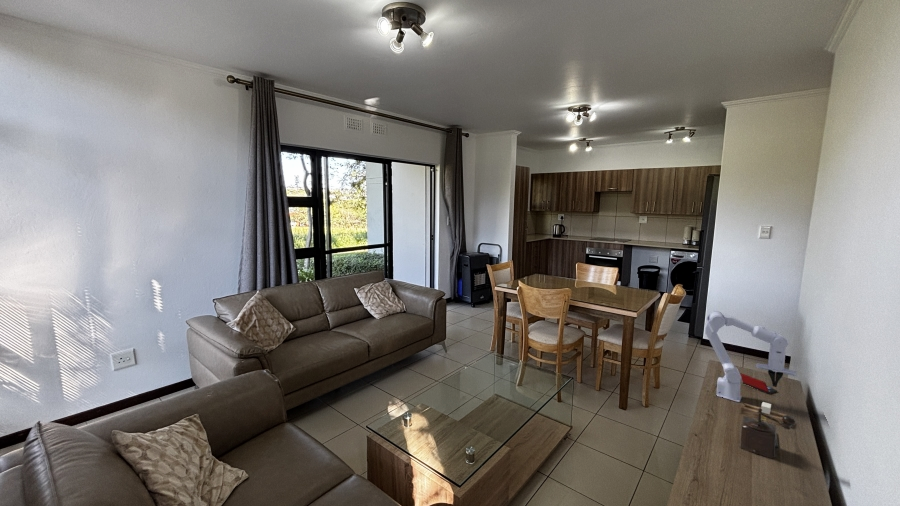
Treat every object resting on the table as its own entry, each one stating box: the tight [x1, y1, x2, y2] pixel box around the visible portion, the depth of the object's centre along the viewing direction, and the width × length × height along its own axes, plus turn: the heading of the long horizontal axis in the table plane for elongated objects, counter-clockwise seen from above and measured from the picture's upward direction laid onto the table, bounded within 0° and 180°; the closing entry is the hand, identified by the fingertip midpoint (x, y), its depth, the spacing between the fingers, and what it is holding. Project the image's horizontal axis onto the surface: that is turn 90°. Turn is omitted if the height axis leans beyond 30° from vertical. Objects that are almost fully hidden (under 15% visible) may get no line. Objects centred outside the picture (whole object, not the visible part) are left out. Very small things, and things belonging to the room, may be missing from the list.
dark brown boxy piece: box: [739, 407, 796, 459], centre depth 142 cm, size 16×11×18 cm
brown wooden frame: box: [740, 402, 790, 427], centre depth 166 cm, size 16×6×3 cm, turn 44°
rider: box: [760, 401, 772, 415], centre depth 165 cm, size 3×5×5 cm, turn 134°
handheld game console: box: [739, 372, 778, 395], centre depth 193 cm, size 12×11×7 cm
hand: (774, 386), depth 175 cm, fingers closed
